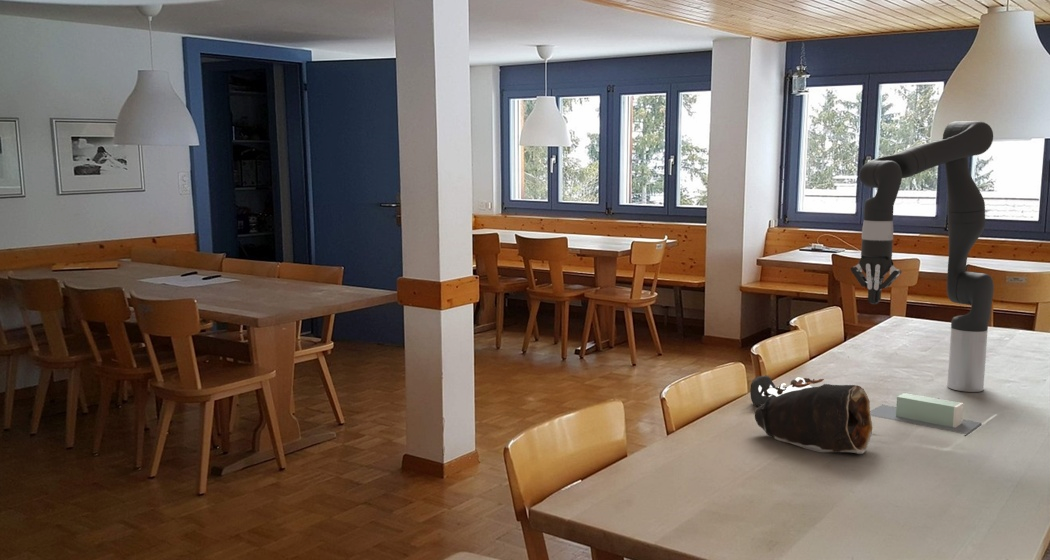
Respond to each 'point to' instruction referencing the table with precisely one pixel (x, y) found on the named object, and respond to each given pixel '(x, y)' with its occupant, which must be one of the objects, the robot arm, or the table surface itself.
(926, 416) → the sage block
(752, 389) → the figurine
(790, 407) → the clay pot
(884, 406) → the slate mat
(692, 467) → the table surface
